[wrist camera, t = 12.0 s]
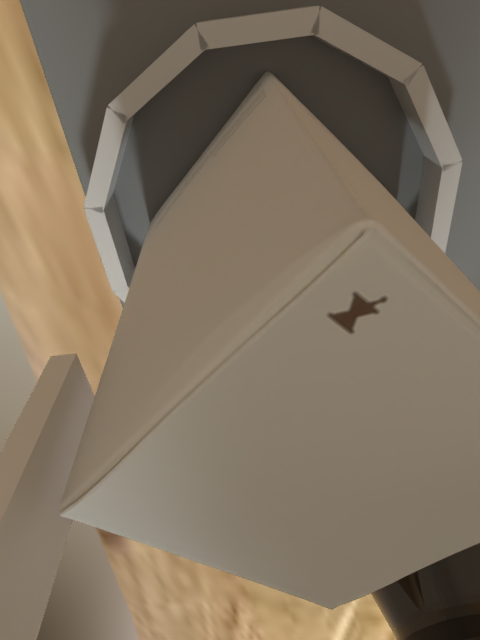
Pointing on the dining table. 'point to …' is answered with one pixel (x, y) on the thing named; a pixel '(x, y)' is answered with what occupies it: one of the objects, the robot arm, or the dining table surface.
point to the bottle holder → (238, 80)
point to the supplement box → (288, 373)
